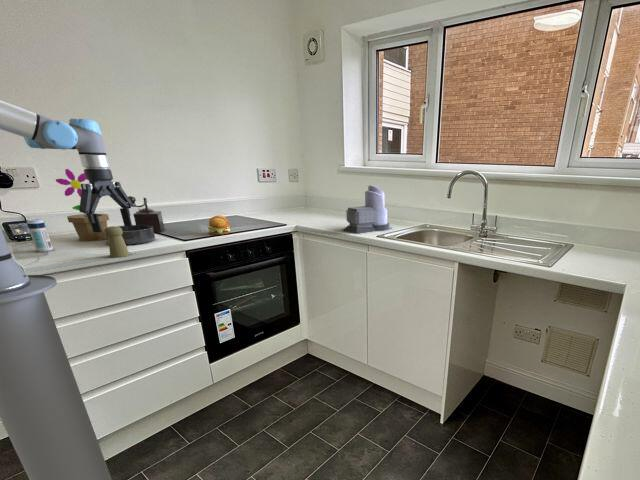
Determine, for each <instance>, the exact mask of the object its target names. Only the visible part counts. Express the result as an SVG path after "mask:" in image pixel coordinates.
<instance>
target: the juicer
mask: <svg viewBox="0 0 640 480" xmlns="http://www.w3.org/2000/svg"><path fill="white" fill-rule="evenodd" d="M385 195H386V194H385V192H384V191H383V190H382V189H381V188H379V187H377V186H375V185H372V184H370V185H368V186H367V190H366V191H364V206H351V207H350V206H349V207H347V209H346V210H345V211H346V213H345V214H346V221H347V223H348V225H347V226H345V228H343V230H342V232H347V233H352V234H356V235H357V234H363V233H370V232H376V231H377V232H379V231H380V232H381V231H387V230H391V229H392V227H391V226H390V223H389V222H388V212H389V211H388V209H387V208H386V207H385V199H386V198H385Z"/></svg>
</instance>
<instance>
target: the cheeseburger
mask: <svg viewBox="0 0 640 480" xmlns="http://www.w3.org/2000/svg"><path fill="white" fill-rule="evenodd" d="M208 222H209V224H208V226H207V229H208V232H209V234H210V235H213V236H215V235H217V236H219V235H221V236H222V235H228V234H229V233H230V232H231V228H230V226H231V225H230V222H229V220H227V218H226V217H225V216H223V215H218V214H217V215H214V216H211V217H210V219H209V221H208Z"/></svg>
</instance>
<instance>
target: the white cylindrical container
mask: <svg viewBox="0 0 640 480" xmlns="http://www.w3.org/2000/svg"><path fill="white" fill-rule="evenodd" d="M26 226H27V228H28V231H29V234H30V237H31V240H32V243H33V245H34V249H35V251H36V252H39V253H45V252H46V253H47V252H51V251H52V250H54V247H53V245H52V241H51V239H50V235H49V233H48V230H47V226H46V224H45V221H44V220H42V219H41V218H33V219H26Z"/></svg>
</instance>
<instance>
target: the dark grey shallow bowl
mask: <svg viewBox="0 0 640 480" xmlns="http://www.w3.org/2000/svg"><path fill="white" fill-rule="evenodd" d="M116 227H120V228H121V229H122V231H123V233H122V237H123V240H124V242H125V244H126V246H127V245H137V244H138V245H139V244H144V243H149V242H152V241H154V240H156V235H155V233H154V230H153V226H149V225H136V224H132V226H124V225H117V226H116ZM104 231H105V230H104ZM105 235H106V234H105ZM106 238H107V239H106V241H107V244H109V241H108V236H107V235H106Z"/></svg>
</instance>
